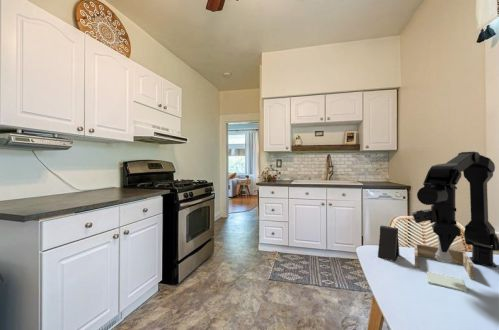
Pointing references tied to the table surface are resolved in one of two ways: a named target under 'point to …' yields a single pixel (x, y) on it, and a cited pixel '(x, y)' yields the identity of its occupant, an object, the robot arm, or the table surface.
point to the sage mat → (446, 281)
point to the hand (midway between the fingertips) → (443, 250)
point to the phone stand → (388, 243)
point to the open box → (456, 255)
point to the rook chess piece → (443, 255)
